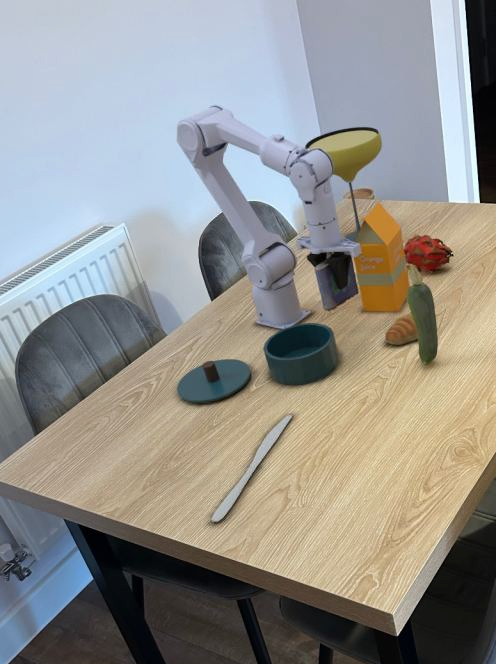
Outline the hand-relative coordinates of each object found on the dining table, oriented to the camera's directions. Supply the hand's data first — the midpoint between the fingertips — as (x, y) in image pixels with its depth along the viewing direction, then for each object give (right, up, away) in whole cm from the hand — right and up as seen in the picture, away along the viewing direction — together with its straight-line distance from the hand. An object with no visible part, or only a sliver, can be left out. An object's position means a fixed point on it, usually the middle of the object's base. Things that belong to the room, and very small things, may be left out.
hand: (336, 286), depth 147 cm
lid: (-23, -19, -2) cm, 30 cm away
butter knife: (-13, -34, -26) cm, 44 cm away
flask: (+1, -3, +2) cm, 4 cm away
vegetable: (+17, -17, -11) cm, 26 cm away
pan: (-6, -16, -3) cm, 17 cm away
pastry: (+14, -10, -1) cm, 17 cm away
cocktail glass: (+5, +20, +43) cm, 47 cm away
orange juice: (+11, -1, +12) cm, 16 cm away
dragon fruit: (+20, +8, +21) cm, 31 cm away
